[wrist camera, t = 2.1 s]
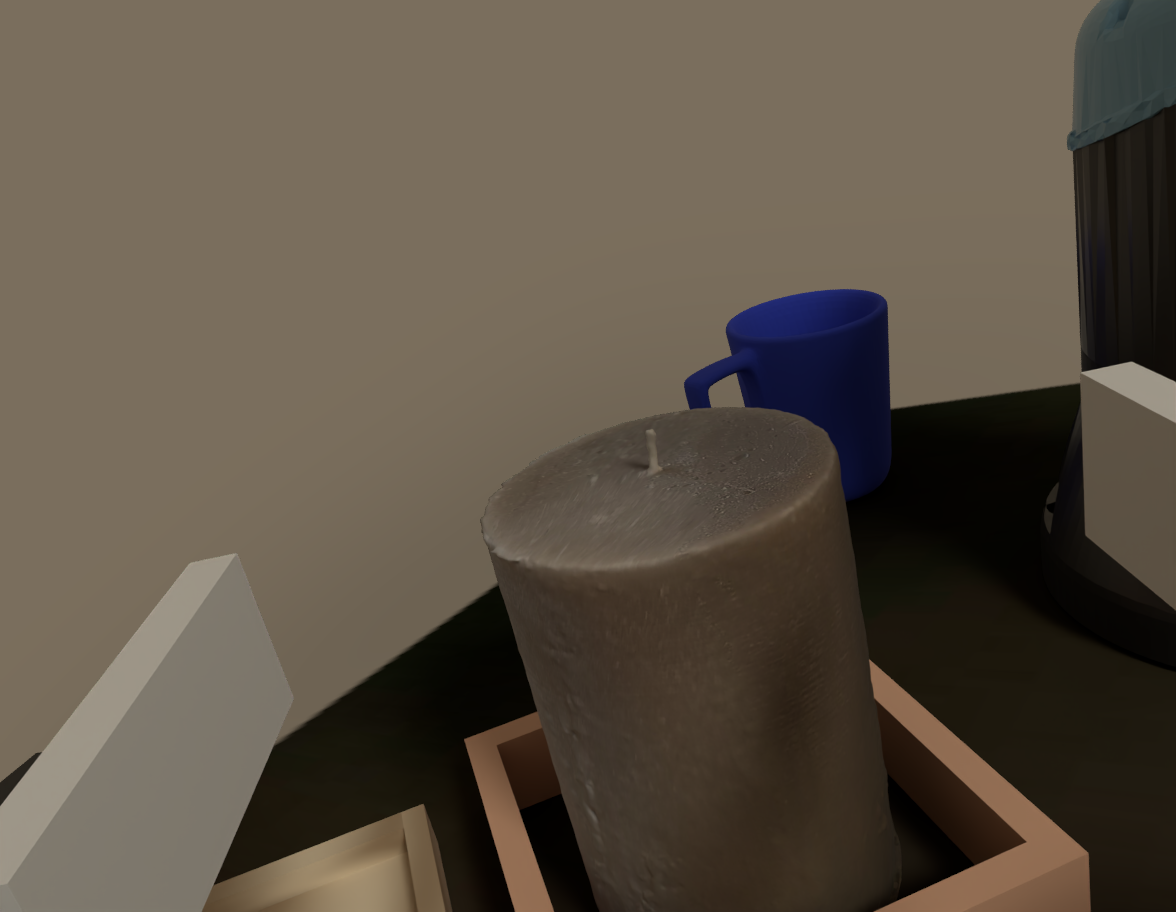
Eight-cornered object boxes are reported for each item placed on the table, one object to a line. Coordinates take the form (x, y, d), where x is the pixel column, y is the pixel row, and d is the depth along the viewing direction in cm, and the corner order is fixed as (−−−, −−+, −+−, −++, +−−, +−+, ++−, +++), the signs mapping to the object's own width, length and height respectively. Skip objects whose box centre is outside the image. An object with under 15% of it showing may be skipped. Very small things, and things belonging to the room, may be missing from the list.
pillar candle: (963, 831, 29) (910, 373, 24) (770, 1076, 24) (646, 549, 18) (721, 725, 36) (640, 356, 31) (530, 894, 31) (392, 478, 26)
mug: (672, 523, 53) (636, 353, 49) (826, 443, 58) (804, 284, 54) (775, 568, 46) (741, 374, 42) (939, 472, 51) (921, 293, 48)
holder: (821, 671, 38) (811, 608, 37) (1091, 938, 25) (1088, 852, 24) (486, 803, 35) (464, 739, 34) (598, 1178, 22) (569, 1094, 21)
